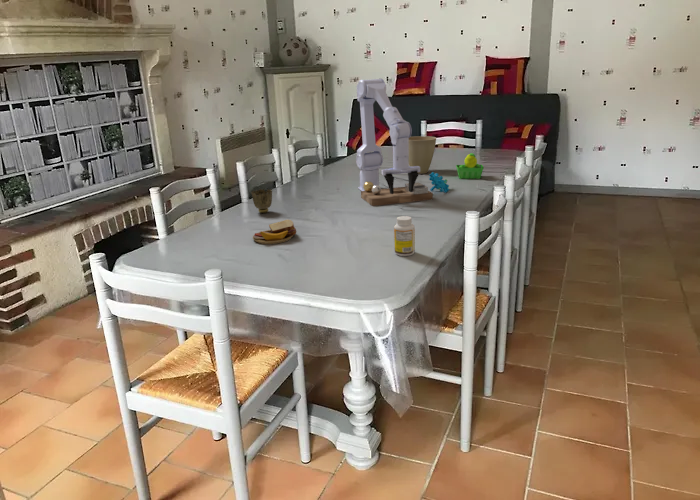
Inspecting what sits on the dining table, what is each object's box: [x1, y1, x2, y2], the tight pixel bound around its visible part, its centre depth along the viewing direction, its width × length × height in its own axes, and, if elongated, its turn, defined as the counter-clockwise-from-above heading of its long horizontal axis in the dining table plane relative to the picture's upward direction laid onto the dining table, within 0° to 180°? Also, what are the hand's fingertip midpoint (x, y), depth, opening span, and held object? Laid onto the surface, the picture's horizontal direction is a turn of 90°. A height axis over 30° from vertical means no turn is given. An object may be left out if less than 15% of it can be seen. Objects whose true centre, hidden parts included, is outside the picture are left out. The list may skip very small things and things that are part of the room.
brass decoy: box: [363, 181, 374, 192], centre depth 217 cm, size 4×4×4 cm
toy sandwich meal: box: [252, 219, 297, 245], centre depth 173 cm, size 12×14×5 cm
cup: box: [251, 188, 273, 214], centre depth 203 cm, size 8×7×8 cm
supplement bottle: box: [393, 215, 416, 257], centre depth 154 cm, size 6×6×10 cm
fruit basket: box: [455, 152, 485, 180], centre depth 245 cm, size 11×9×11 cm
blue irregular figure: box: [428, 171, 450, 194], centre depth 224 cm, size 11×6×10 cm
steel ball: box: [372, 185, 382, 194], centre depth 212 cm, size 4×4×4 cm
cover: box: [404, 181, 429, 194], centre depth 214 cm, size 10×6×3 cm, turn 15°
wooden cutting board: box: [360, 186, 434, 207], centre depth 215 cm, size 14×24×2 cm, turn 105°
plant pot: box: [409, 135, 437, 175], centre depth 260 cm, size 15×15×16 cm
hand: (401, 192), depth 210 cm, fingers open, 7 cm apart
